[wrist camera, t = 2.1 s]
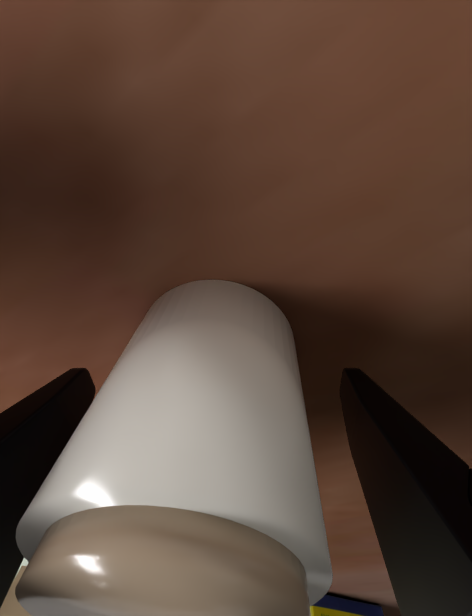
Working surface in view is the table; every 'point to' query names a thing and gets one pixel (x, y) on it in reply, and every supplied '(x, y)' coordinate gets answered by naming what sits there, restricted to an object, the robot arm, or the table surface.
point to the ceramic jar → (185, 475)
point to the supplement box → (343, 608)
